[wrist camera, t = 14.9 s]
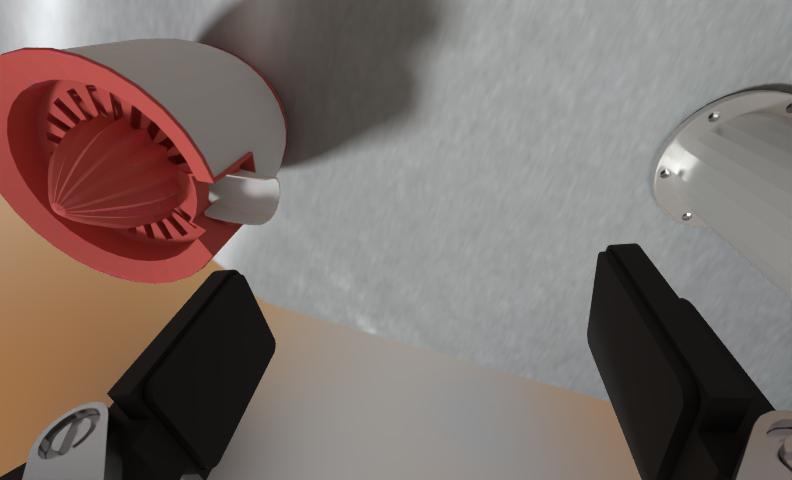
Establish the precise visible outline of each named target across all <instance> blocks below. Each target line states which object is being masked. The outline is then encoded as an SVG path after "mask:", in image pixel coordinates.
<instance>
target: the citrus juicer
mask: <svg viewBox="0 0 792 480" xmlns="http://www.w3.org/2000/svg"><path fill="white" fill-rule="evenodd" d="M286 146H287V123H286V117H285V112H284V109H283V106H282V103H281V101H280V99H279V97H278V95H277V93H276V91H275V90H274V88H273V87H272V86H271V84H270V83H269V82H268V80H267V79H266V78H265V77H264V76H263V75H262V74H261V73H260V72H259V71H258V70H257V69H256V68H254V67H253V66H252V65H250V64H249V63H247V62H246V61H244V60H243V59H241V58H240V57H238V56H236V55H234V54H232V53H230V52H228V51H225V50H223V49H221V48H217V47H212V46H209V45H205V44H201V43H196V42H192V41H186V40H180V39H137V40H129V41H122V42H114V43H107V44H99V45H92V46H84V47H76V48H69V49H61V50H58V49H54V48H22V49H18V50H15V51H11V52H7V53H4V54H2V55H0V194H1V195H2V196H3V197H4V199H5V200H6V201H7V202H8V203H9V204H10V206H11V207H12V208H13V209H14V211H15V212H16V213H17V214H18V215H19V216H20V217H21V218H22V219H23V220H24V221H25V222H26V223H27V224H28V225H29V226H30V227H31V228H32V229H34V230H35V231H36V232H37V233H38V234H40V235H41V236H42V237H43V238H45V239H46V240H47V241H48V242H50V243H51V244H52V245H53V246H55V247H57V248H58V249H60V250H61V251H63V252H64V253H66V254H68V255H69V256H70V257H72V258H74V259H75V260H77V261H79V262H81V263H83V264H85V265H87V266H89V267H91V268H93V269H95V270H98V271H100V272H103V273H106V274H109V275H111V276H114V277H117V278H122V279H126V280H130V281H134V282H144V283H165V282H173V281H177V280H180V279H183V278H186V277H189V276H191V275H193V274H194V273H196V272H198V271H199V270H201V269H203V268H204V267H205V266H206V265H207V263H208V262H209V261H210V260H211V259H212V258H213V257H214V256H215V255H216V254H217V253H218V251H219V250H220V249H221V248H222V247H223V246H224V245H225V244H226V243H227V241H228V240H229V239H230V238H231V237H232V236H233V235H234V234H235V233H236V232H237V231H238V229H239V228H240V227H241V226H242V225H243V224H247V225H262V224H264V223H266V222H267V221H269V220H270V219H271V218H272V216H273V215H274V213H275V212H276V209H277V206H278V203H279V198H280V185H279V181H278V179H277V178H276V175H277V173H278V171H279V169H280V166H281V162H282V160H283V158H284V155H285V150H286Z"/></svg>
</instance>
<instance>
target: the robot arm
mask: <svg viewBox="0 0 792 480" xmlns="http://www.w3.org/2000/svg"><path fill="white" fill-rule="evenodd" d="M710 114H711V115H710ZM709 115H710V116H709ZM650 186H651V190H652V195H653V197H654V199H655V201H656V203H657V205H658V206H659V207H660V208H661V209H662V210H663V211H664V212H665V213H666V214H667V215H668V216H670V217H671V218H672V219H674V220H675V221H677V222H679V223H682V224H685V225H689V226H693V227H702V228H711V229H712V230H713V231H714V232H715V233H716V234H718V235H719V236H720V237H721V238H722V239H723V240H724V241H725V242H727V243H728V244H729V245H730V246H731V247H732V248H733V249H734V250H736V251H737V252H738V253H739V254H740V255H741V256H742V257H743V258H745V259H746V260H747V261H748V262H749V263H750V264H751V265H752V266H754V267H755V268H756V269H757V270H758V271H759V272H760V273H761V274H762V275H764V276H765V277H766V278H767V279H768V280H769V281H770V282H771V283H773V284H774V285H775V286H776V287H777V288H778V289H779V290H780V291H782V292H783V293H784V294H785V295H786V296H787V297H788V298H789V299H791V300H792V94H789V93H785V92H781V91H776V90H754V91H746V92H741V93H737V94H734V95H730V96H727V97H724V98H722V99H720V100H718V101H715V102H713V103H711V104H709V105H707V106H705V107H704V108H702V109H701V110H699V111H697V112H696V113H694V114H693V115H691V116H690V117H689V118H688V119H686V120H685V121H684V122H683V123H681V124H680V125H679V126H678V127H677V128H676V129H675V131H674V132H673V133H672V134H671V135H670V136H669V137H668V138H667V140H666V141H665V143H664V144H663V146H662V147H661V148H660V150H659V152H658V154H657V156H656V158H655V161H654V163H653V167H652V171H651V182H650ZM587 338H588V344H589V347H590V350H591V352H592V355H593V357H594V360H595V363H596V365H597V368H598V370H599V373H600V375H601V378H602V380H603V383H604V385H605V388H606V390H607V393H608V395H609V398H610V401H611V403H612V406H613V408H614V411H615V413H616V416H617V418H618V421H619V423H620V426H621V428H622V431H623V433H624V436H625V439H626V441H627V443H628V446H629V448H630V451H631V454H632V456H633V459H634V461H635V464H636V466H637V469H638V471H639V474H640V477H641V479H642V480H792V411H791V410H778V411H776V410H775V409H774V408H773V406H772V405H771V404H770V402H769V401H768V400H767V399H766V397H765V396H764V395H763V394H762V392H761V391H760V390H759V388H758V387H757V386H756V385H755V383H754V382H753V381H752V380H751V378H750V377H749V376H748V374H747V373H746V372H745V371H744V369H743V368H742V367H741V366H740V364H739V363H738V362H737V360H736V359H735V358H734V357H733V355H732V354H731V353H730V352H729V350H728V349H727V348H726V346H725V345H724V344H723V343H722V341H721V340H720V339H719V338H718V336H717V335H716V334H715V332H714V331H713V330H712V329H711V327H710V326H709V325H708V324H707V322H706V321H705V320H704V318H703V317H702V316H701V315H700V313H699V312H698V311H697V310H696V308H695V307H694V306H693V305H692V304H691V303H690V302H689V301H688V300H686V299H684V298H679V297H678V296H677V295H676V293H675V292H674V291H673V289H672V288H671V287H670V285H669V284H668V283H667V281H666V280H665V279H664V278H663V276H662V275H661V274H660V272H659V271H658V270H657V268H656V267H655V266H654V264H653V263H652V262H651V260H650V259H649V258H648V256H647V255H646V254H645V252H644V251H643V250H642V248H641V247H640V246H639V245H638V244H635V243H634V244H618V245H609V246H608V247H607V249H606V251H605V252H599V254H598V259H597V266H596V273H595V280H594V288H593V295H592V302H591V309H590V316H589V323H588V330H587ZM275 344H276V343H275V339H274V337H273V335H272V333H271V331H270V329H269V326H268V324H267V322H266V320H265V318H264V316H263V314H262V312H261V310H260V308H259V306H258V303H257V301H256V299H255V297H254V295H253V293H252V291H251V289H250V287H249V284H248V282H247V280H246V278H245V277H244V276H243V275H241V274H240V273H239V272H238V271H237V270H221V271H214V272H213V273H212V274H211V275H210V276H209V277H208V278H207V279H206V280H205V282H204V283H203V284H202V285H201V286H200V287H199V288H198V290H197V291H196V292H195V293H194V294H193V295H192V297H191V298H190V299H189V300H188V301H187V302H186V303H185V304H184V306H183V307H182V308H181V309H180V310H179V312H177V314H176V315H175V316H174V317H173V318H172V319H171V321H170V322H169V323H168V324H167V325H166V326H165V328H164V329H163V330H162V331H161V332H160V333H159V334H158V335H157V337H156V338H155V339H154V340H153V341H152V342H151V344H150V345H149V346H148V347H147V348H146V349H145V350H144V352H143V353H142V354H141V355H140V356H139V358H137V360H136V361H135V362H134V363H133V364H132V365H131V366H130V368H129V369H128V370H127V371H126V372H125V373H124V375H123V376H122V377H121V378H120V379H119V380H118V381H117V383H116V384H115V385H114V386H113V387H112V388H111V390H110V391H109V392H108V393H107V394H108V395H109V396H110V398H111V399H112V400H113V401H114V403H113V404H112V405H111V407H110V408H108V407H107V406H106V405H105V404H103V403H101V402H91V403H86V404H83V405H81V406H78V407H76V408H74V409H72V410H70V411H69V412H67V413H65V414H63V415H62V416H61V417H59V418H58V419H57V420H55V421H54V422H53V423H51V424H50V425H49V426H48V427H47V429H45V430H44V431H43V432H42V433H41V434H40V436H39V437H38V438H37V440H36V441H35V443H34V444H33V446H32V448H31V450H30V452H29V456H28V459H27V462H26V463H24V464H23V465H21V466H19V467H17V468H15V469H14V470H12V471H10V472H8V473H7V474H5V475H3V476H1V477H0V480H180V478H181V477H183V478H184V479H185V480H206V479H207V477H208V475H209V473H210V471H211V470H212V468H214V467H216V466H217V465H218V463H219V462H220V460H221V458H222V456H223V454H224V452H225V450H226V448H227V446H228V444H229V442H230V440H231V438H232V436H233V434H234V432H235V430H236V428H237V426H238V424H239V422H240V420H241V418H242V416H243V414H244V412H245V410H246V408H247V406H248V404H249V402H250V400H251V398H252V396H253V394H254V392H255V390H256V388H257V386H258V384H259V382H260V380H261V378H262V376H263V374H264V372H265V370H266V368H267V366H268V364H269V362H270V360H271V358H272V356H273V354H274V352H275V346H276V345H275Z"/></svg>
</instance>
